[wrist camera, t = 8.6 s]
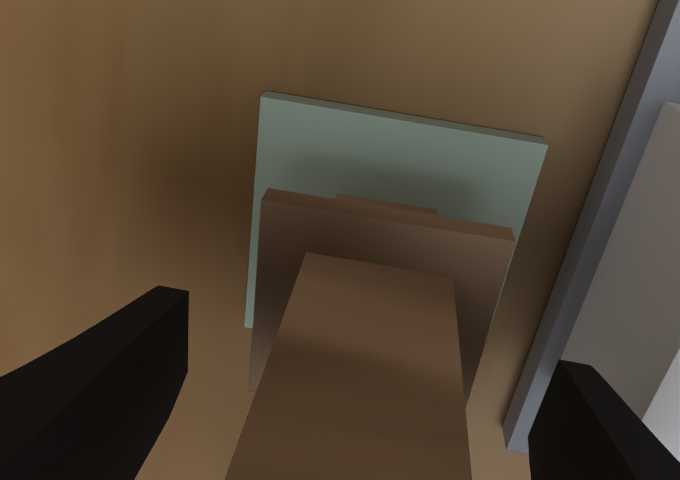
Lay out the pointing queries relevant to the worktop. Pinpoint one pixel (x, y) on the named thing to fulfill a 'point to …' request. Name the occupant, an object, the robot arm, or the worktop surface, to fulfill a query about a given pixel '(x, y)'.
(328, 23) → the worktop surface
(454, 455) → the brown block
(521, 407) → the breaker housing
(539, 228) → the worktop surface
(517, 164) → the mat
